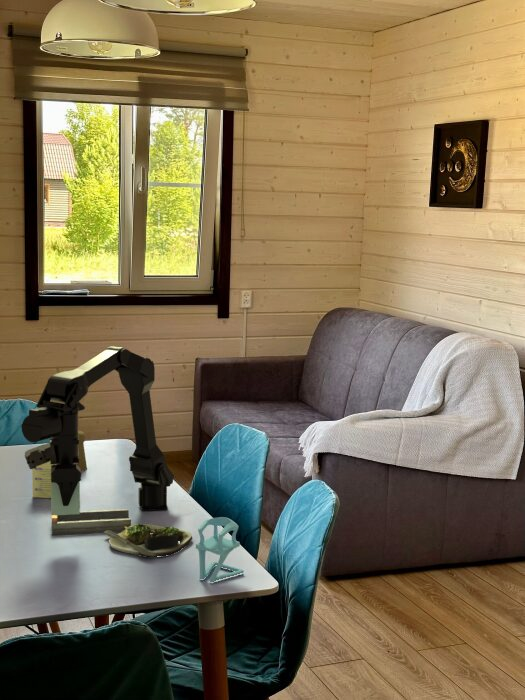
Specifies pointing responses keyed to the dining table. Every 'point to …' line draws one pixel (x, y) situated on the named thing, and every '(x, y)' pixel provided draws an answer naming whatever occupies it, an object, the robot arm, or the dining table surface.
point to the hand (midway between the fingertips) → (65, 502)
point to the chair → (217, 547)
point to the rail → (91, 522)
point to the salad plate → (149, 540)
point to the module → (57, 503)
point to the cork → (81, 451)
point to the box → (42, 480)
